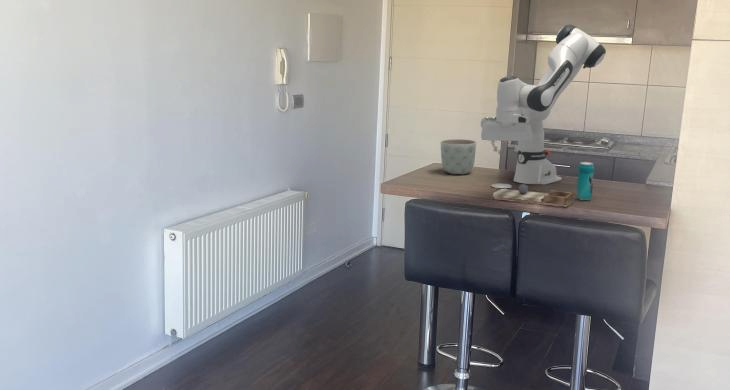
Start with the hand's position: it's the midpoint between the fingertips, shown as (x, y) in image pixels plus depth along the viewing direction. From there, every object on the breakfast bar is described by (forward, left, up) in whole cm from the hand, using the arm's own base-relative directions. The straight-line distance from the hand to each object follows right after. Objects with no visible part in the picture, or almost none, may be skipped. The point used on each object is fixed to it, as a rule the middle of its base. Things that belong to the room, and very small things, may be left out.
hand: (505, 151), depth 291 cm
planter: (-17, -51, -20) cm, 57 cm away
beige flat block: (-3, +6, -19) cm, 20 cm away
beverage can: (-25, +20, -19) cm, 38 cm away
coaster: (-13, -16, -19) cm, 28 cm away
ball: (-4, +7, -15) cm, 17 cm away
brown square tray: (-10, +19, -19) cm, 29 cm away
